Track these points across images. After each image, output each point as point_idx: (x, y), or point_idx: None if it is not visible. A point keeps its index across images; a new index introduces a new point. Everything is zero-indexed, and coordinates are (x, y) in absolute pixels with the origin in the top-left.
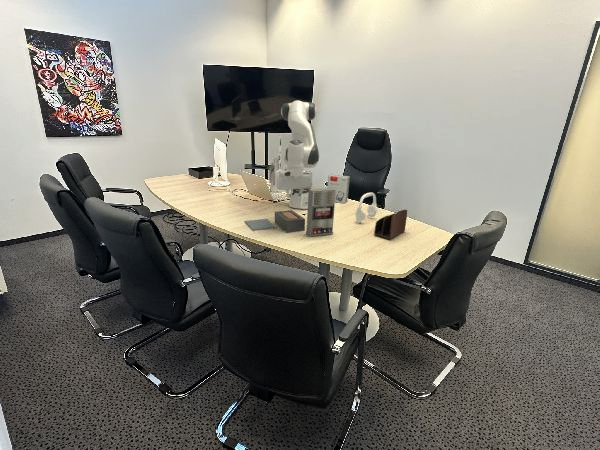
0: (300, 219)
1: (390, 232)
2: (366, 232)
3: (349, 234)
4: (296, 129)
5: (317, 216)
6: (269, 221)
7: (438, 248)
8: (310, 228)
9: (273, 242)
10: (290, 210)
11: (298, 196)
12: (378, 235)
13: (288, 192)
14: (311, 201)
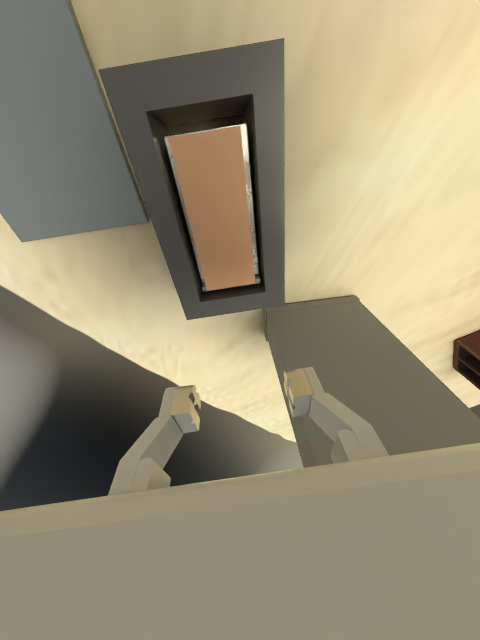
0: (258, 308)
1: (470, 381)
2: (456, 322)
3: (393, 330)
4: None
5: None
6: (92, 85)
7: (475, 405)
8: (271, 350)
9: (140, 356)
10: (267, 58)
11: (284, 382)
12: (455, 349)
13: (163, 462)
14: (304, 463)
